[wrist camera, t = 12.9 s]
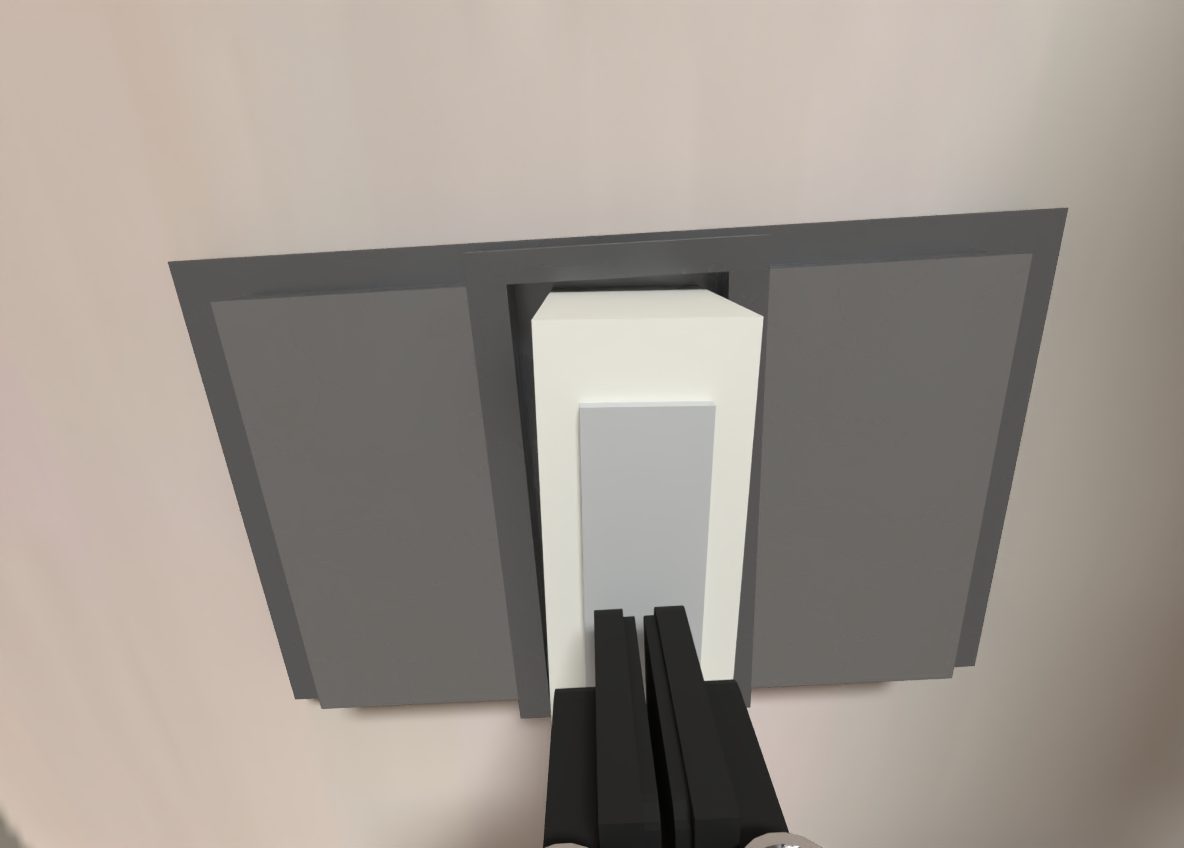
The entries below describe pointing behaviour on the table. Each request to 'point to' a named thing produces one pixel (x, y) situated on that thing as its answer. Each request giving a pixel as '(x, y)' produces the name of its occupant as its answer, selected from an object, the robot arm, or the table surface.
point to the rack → (510, 449)
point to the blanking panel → (643, 464)
